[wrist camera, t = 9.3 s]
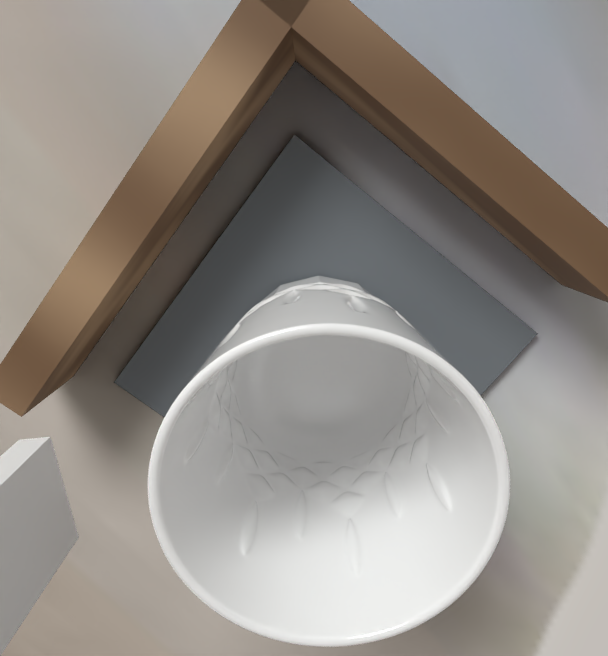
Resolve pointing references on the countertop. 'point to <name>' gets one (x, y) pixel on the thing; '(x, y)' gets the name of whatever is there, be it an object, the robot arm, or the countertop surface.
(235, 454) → the white cup
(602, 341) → the countertop surface
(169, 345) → the mat
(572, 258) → the corner walls
